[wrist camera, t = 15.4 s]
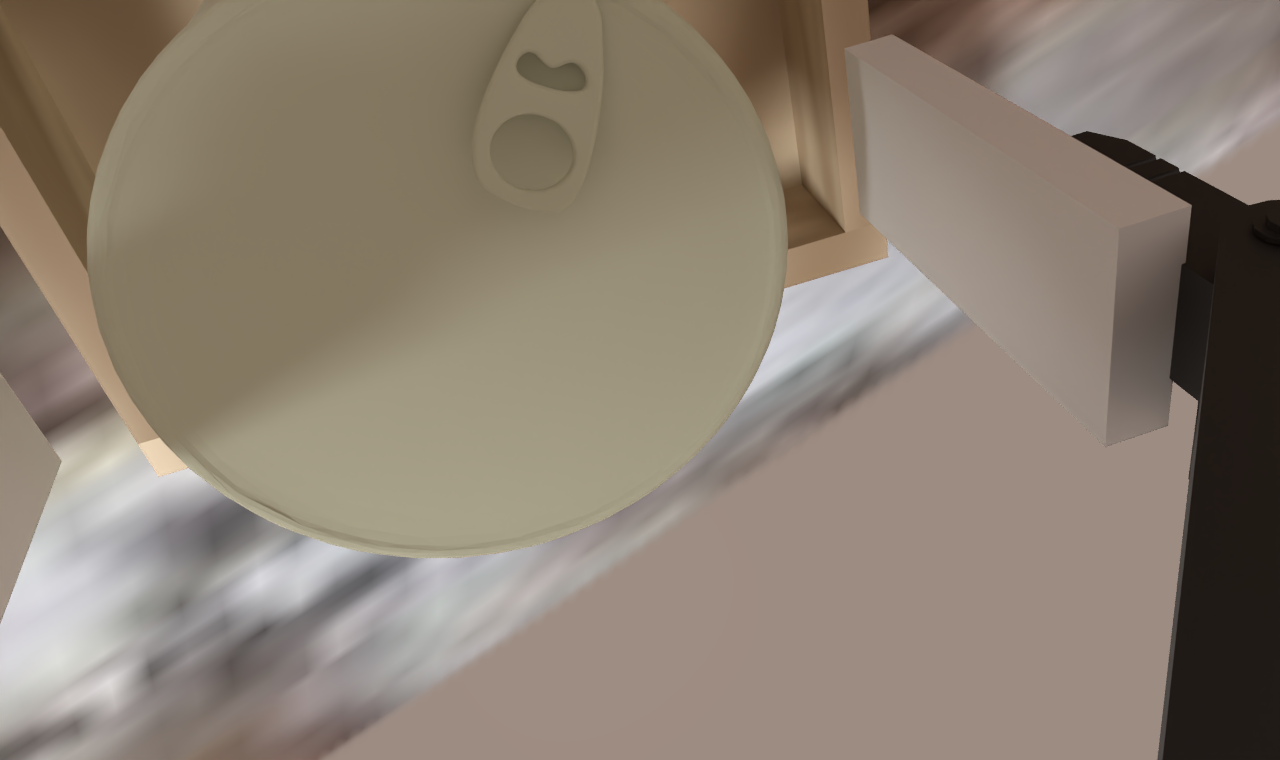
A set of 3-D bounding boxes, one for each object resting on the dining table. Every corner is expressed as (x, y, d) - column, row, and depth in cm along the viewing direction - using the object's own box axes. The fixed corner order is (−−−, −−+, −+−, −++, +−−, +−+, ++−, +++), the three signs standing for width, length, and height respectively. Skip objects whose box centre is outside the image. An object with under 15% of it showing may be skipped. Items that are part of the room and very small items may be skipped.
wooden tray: (183, 384, 27) (158, 477, 24) (-124, -153, 20) (-222, -126, 17) (828, 194, 28) (888, 257, 25) (763, -382, 21) (836, -399, 18)
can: (689, -66, 23) (928, 94, 13) (551, 291, 27) (653, 622, 17) (257, -249, 20) (139, -217, 10) (171, 191, 24) (24, 531, 14)
